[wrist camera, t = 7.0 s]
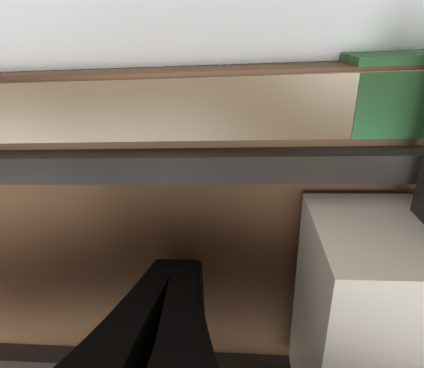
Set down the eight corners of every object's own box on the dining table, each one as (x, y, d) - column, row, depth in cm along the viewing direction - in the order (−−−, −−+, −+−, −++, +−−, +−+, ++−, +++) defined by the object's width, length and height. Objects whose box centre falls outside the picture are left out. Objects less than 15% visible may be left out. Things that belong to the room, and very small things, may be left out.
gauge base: (592, 379, 13) (656, 443, 11) (10, 352, 15) (-25, 401, 13) (830, 35, 8) (1039, 37, 6) (-113, 68, 10) (-204, 79, 8)
